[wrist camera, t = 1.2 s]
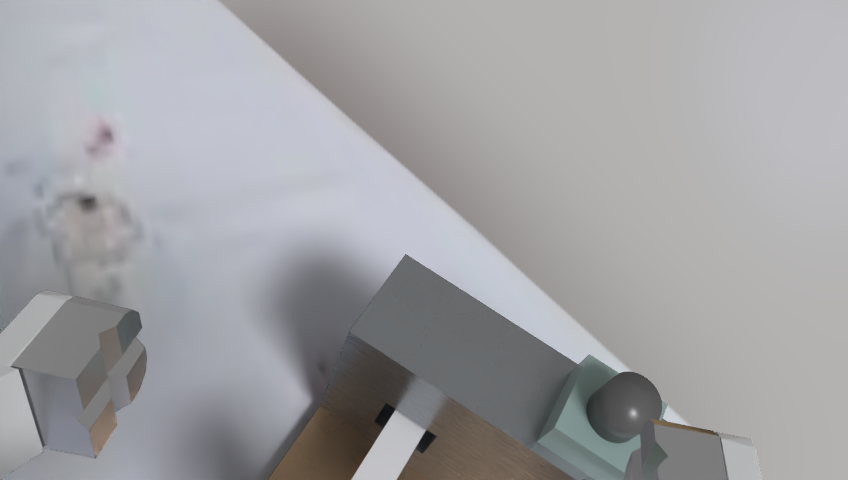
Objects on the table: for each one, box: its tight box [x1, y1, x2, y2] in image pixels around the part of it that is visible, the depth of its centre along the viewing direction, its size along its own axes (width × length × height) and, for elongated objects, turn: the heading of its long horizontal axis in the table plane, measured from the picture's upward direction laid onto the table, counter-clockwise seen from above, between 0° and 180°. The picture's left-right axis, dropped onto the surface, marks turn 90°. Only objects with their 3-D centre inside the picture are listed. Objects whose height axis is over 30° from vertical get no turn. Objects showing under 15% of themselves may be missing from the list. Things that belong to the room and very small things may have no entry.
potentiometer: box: [537, 354, 668, 480], centre depth 32 cm, size 4×4×4 cm
